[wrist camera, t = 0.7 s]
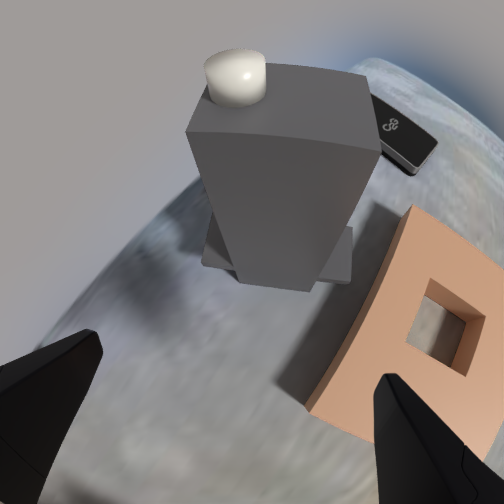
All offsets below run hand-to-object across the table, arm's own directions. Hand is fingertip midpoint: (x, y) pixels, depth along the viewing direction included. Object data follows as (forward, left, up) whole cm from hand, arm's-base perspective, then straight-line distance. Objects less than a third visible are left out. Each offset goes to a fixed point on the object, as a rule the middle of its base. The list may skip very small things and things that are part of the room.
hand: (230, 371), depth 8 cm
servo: (+4, -7, -13) cm, 16 cm away
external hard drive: (+6, -27, -14) cm, 31 cm away
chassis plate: (-12, -11, -13) cm, 21 cm away
